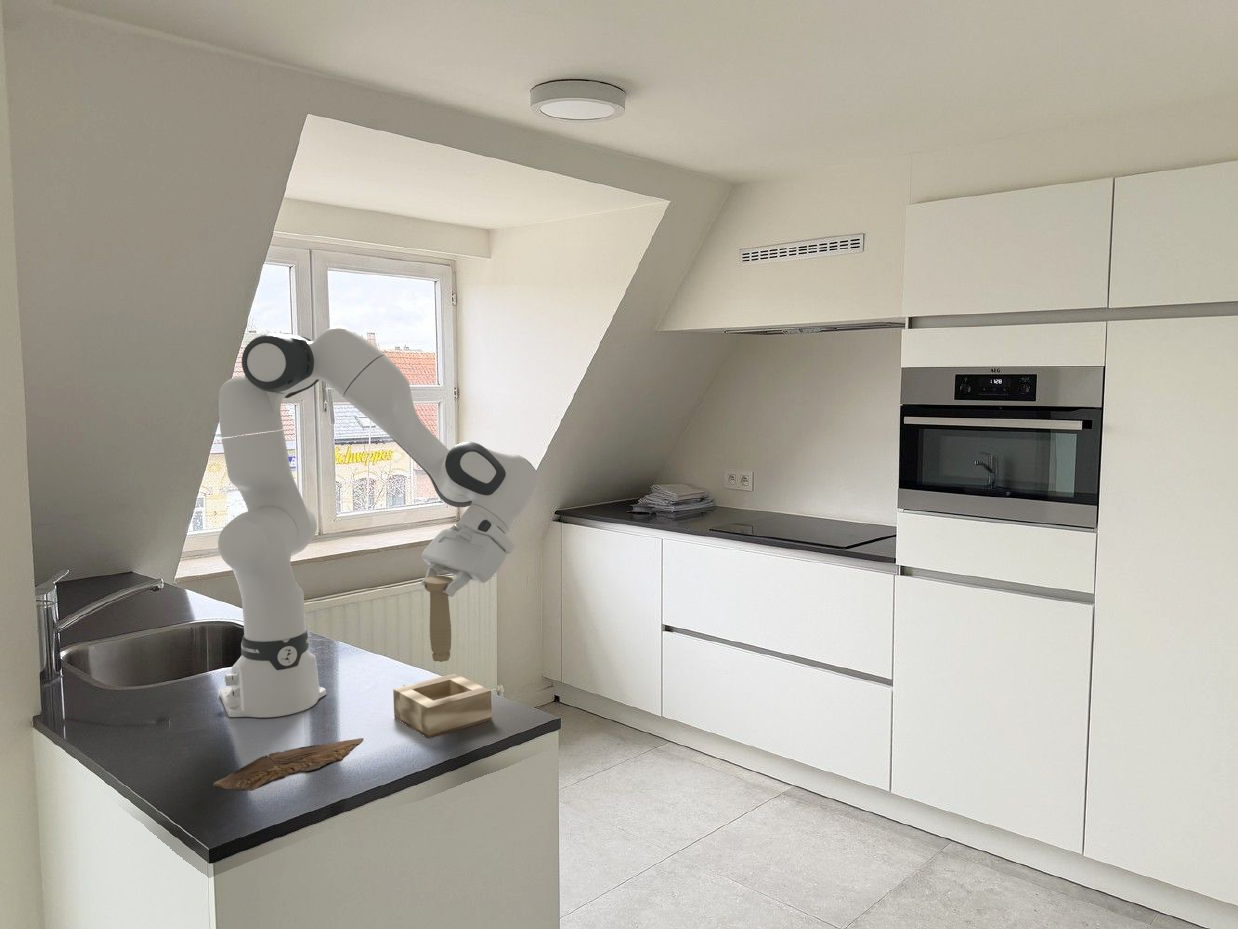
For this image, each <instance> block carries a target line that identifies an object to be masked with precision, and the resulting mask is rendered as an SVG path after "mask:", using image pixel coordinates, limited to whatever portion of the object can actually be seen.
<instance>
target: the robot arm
mask: <svg viewBox="0 0 1238 929" xmlns="http://www.w3.org/2000/svg"><path fill="white" fill-rule="evenodd" d="M241 368H242V372H243V375H237V376H234V377H231V378H230V379H228V380H226V381H225V382H224V383H223V384H222V385H221V387H220V389H219V393H218V421H219V430H220V437H221V442H222V448H223V454H224V455H223V456H224V459H225V465H226V471H227V475H228V476H227V477H228V479H229V481H230V482H231V483H232V484H233V486H235V487H236V488H237V490H238V491H239V492H240V495H241V497H242V499H243V501H244V503H245V506H246V509H247V511H245V512H242V513H241V514H240V513H239V515H236V516H235V517H234V518H233V519H232V520H230V521H229V522H228V523H227V524H226V525H225V526H224V527H223V528H222V530H221V531H220V533H219V536H218V541H217V547H218V551H219V555H220V557H221V559H222V560H223V562H224V563H225V564H226V565H227V566H228V567H230V568H231V569H232V571H233V574H234V577H235V579H236V583H237V586H238V589H239V592H240V596H241V597H240V598H241V602H242V603H241V605H242V618H243V633H244V634H243V635H242V637H241V638H242V640H241V644H240V648H241V650H240V654H241V655H240V657H239V658H238V659H237V661H236V662H235V663H234V664H233V666H232V665H231V672H230V673H226V674H225V675H224V680H225V681H224V682H225V688H222V689H221V690H220V693H219V696H220V699H221V701H222V704H223V707H224V709H225V712H226V714H227V717H229V718H242V717H250V718H275V717H277V718H278V717H284V716H288V715H292V714H296V713H300V712H302V711H305V710H307V709H310V708H311V707H313V706H315V704H317V703H318V701H319V699H321V698H323V697H324V696H326V695H327V690H326V688H325V687H323V686H320V682H319V681H320V680H319V673H318V665H317V663H318V662H317V658H316V655H314V653H311V652H310V651H309V643H310V638H309V637H310V636H309V633H308V630H307V628H306V618H305V597H304V596H305V594H304V591H303V588H302V587H301V586H300V585H298V582H297V580H296V578H295V576H294V572H293V569H292V564H291V558H292V557H293V556H295V555H297V554H300V553H301V552H303V551H304V550H305V549H306V548H307V547H308V545H309V544H310V543H311V542H312V541H313V539H314V537H315V536H316V532H317V528H318V527H317V526H318V525H317V524H318V523H317V519H316V517H315V514H314V513H313V511H312V510H311V509H310V508H309V507H308V506H307V505H306V504H305V502H304V500H303V497H302V495H301V492H300V490H299V488H298V485H297V482H296V481H295V477H294V475H293V472H292V469H291V468H292V467H291V465H290V464H291V463H290V459H289V453H288V449H287V448H288V447H287V443H286V438H285V430H284V424H283V418H282V412H281V411H282V410H281V406H282V402H283V400H284V399H290V398H292V397H294V396H295V395H298V394H300V393H302V392H305V391H306V390H309V389H310V388H312V387H314V386H315V385H316V384H317V383H319V381H322V382H324V383H326V384H327V385H329V386H330V387H332V388H333V389H334V390H335V391H336V392H338V394H340V395H341V396H342V397H343V398H344V399H345V401H347V402H349V404H350V405H352V406H353V407H354V408H355V409H357V410H358V411H359V412H360V413H361V414H363V415H364V416H365V417H367V419H369V420H370V421H372V423H374V424H375V425H376V426H377V427H379V428H380V429H381V430H382V431H383V432H384V433H386V434H387V435H388V436H389V437H390V438H391V439H392V440H393V441H394V442H395V443H396V444H397V445H398V447H400V448H401V449H402V450H403V451H404V452H405V453H406V454H407V455H408V456H409V457H410V458H411V459H412V460H413V461H414V462H415V463H416V464H417V465H418V466H419V467H420V468H421V469H422V470H423V471H424V472H425V474H426V475H427V476H428V477H429V479H430V481H431V484H432V485H433V488H434V490H435V492H436V495H437V496H438V497H439V499H440V500H441V501H443V502H444V503H445V504H447V505H448V506H451V507H455V508H467V509H466V510H465V511H464V512H463V514H462V515H461V517H460V518H459V519H458V521H457V522H456V524H453V525H452V526H451V527H449V528H445V529H442V530H441V531H440V532H439V533H438V534H437V535H436V536H435V537H434V538H433V539H432V540H431V541H430V543H429V544H428V545H427V546H426V547H425V548H424V550H423V551H422V554H421V557H420V558H421V559H422V560H423V561H424V562H425V563H426V564H427V565H428V567H427V570H426V573H425V577H424V578H423V579H422V581H421V582H420V585H421V586H423V587H424V579H425V578H427V577H433V576H440V574H441V573H442V571H443V572H445V573H448V574H452V575H455V576H456V577H454V578H453V581H452V582H451V583H450V584H449V583H447V584H446V586H445V587H444V588H443V593H445V594H446V595H447V596H448V597H450V598H453V597H454V596H455V595H456V594H457V592H458V591H459V590H460V589H461V588H464V587H465V586H466V585H468V583H469V582H470V580H472V581H475V582H479V583H480V584H481V583H482V584H484V583H486V582H488V581H490V580H491V579H492V577H494V575H495V574H496V573H497V572H498V571H499V569H500V567H502V565H503V563H504V562H505V560H506V558H507V555H509V554H511V553H512V552H513V551H514V550H515V548H516V544H515V543H514V542H513V541H512V540H511V539H510V538H509V537H508V536H507V534H508V533H509V532H510V530H511V528H512V525H513V523H514V522H515V520H516V519H518V518H519V517H520V516H521V515H522V514H524V513H523V512H524V511H525V510H526V508H527V507H528V506H529V504H530V502H531V501H532V500H533V498H534V496H535V494H536V493H537V491H538V488H539V484H540V477H539V474H538V472H537V470H536V468H535V467H534V466H533V464H532V463H531V462H530V461H529V460H528V459H526V458H525V457H524V456H521V455H519V454H515V453H514V454H506V453H501V452H497V451H494V450H491V449H489V448H486V447H485V446H483V445H481V444H480V443H477V442H473V441H466V442H460V443H458V444H455V445H454V446H453V447H452V448H450V449H448V448H447V446H446V445H444V443H443V442H442V441H441V440H439V438H437V436H436V435H435V434H434V433H433V432H432V431H431V430H430V429H429V428H428V427H427V426H426V425H425V424H424V423H423V422H422V420H421V418H420V417H419V415H418V413H417V412H416V408H415V405H414V402H413V401H414V400H413V396H412V391H411V386H410V383H409V381H408V379H407V378H406V376H405V375H404V374H403V372H402V371H401V369H400V368H399V367H398V366H397V365H396V364H395V363H394V362H393V360H391V359H390V358H389V357H388V356H387V355H386V354H384V353H383V352H382V351H381V350H380V349H379V348H377V347H376V346H375V345H374V344H372V343H371V342H370V341H369V340H368V339H366V338H365V337H363V336H361V335H360V334H359V333H357V332H356V331H354V330H352V329H350V328H348V327H347V326H344V325H335V326H331V327H329V328H326V330H324V331H322V332H321V333H320V334H318V336H317V337H316V338H314V339H313V340H312V339H309V338H308V337H305V336H301V335H299V334H298V335H297V334H293V333H291V332H290V333H288V332H287V333H286V332H281V333H276V332H273V333H272V332H271V333H264V334H262V335H259V336H257V337H255V338H254V339H251V341H250V342H248V344H247V345H246V347H245V348H244V350H243V352H242V357H241Z"/></svg>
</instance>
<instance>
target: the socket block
mask: <svg viewBox="0 0 1238 929" xmlns="http://www.w3.org/2000/svg"><path fill="white" fill-rule="evenodd" d="M392 691H393V718H394V717H395V718H396V719H398V720H399V721H398V720H397V721H398V722H400V721H401V722H400V723H402V722H403V723H404V725H405V724H406V725H405V726H407V727H408V728H410V729H411V730H413V731H415V730H416V731H415V732H417V733H418V732H419V733H418V734H420V735H421V736H423V735H424V736H423V737H426V738H427V739H428V738H429V739H433V738H435V737H436V736H437V737H440V736H444V735H447V734H450V733H453V732H456V730H457V731H459V730H463V729H466V728H470V727H472V726H476V725H480V724H483V723H486V722H489V721H492V719H493V714H492V711H493V710H492V690H491V689H488V688H486V687H484V686H482V685H480V684H478V683H476V682H474V681H472V680H469V679H467V678H465V677H463V676H462V675H461V676H460V675H458V674H456V673H451V674H447V675H444V676H439V677H436V678H435V677H434V678H430V679H428V680H424V681H419V682H417V683H412V684H411V683H410V684H407V685H403V686H399V687H396V688H393V689H392ZM395 718H394V719H395ZM396 719H395V720H396ZM403 723H402V724H403ZM446 733H447V734H446Z"/></svg>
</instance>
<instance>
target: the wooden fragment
mask: <svg viewBox="0 0 1238 929" xmlns="http://www.w3.org/2000/svg"><path fill="white" fill-rule="evenodd" d="M363 741H364V738H363V737H359V738H355V739H347V740H343V741H342V740H341V741H335V742H330V743H324V744H313V745H307V746H300V747H296V748H292V749H286V750H283V751H277V752H271V753H269V754H268V755H264V756H260V757H258V758H257V759H255V760H254V761H251V762H250V763H248V764H246V765H245V766H243V767H241V768H240V769H237V770H236V771H234V772H232V773H230V774H228V775H226V776H224V777H222V778H220V779H219V780H217V781H215V782H213V784H212V785H213V786H214V787H219V788H221V789H222V788H223V789H226V790H237V791H245V790H246V791H254V790H256V789H257V788H260V786H262V785H265V784H268V783H270V782H272V781H274V780H279V779H283V778H286V777H287V776H289V775H295V774H296V773H306V772H309V771H313V770H317V769H320V768H321V767H324V766H326V765H328V764H330V763H334V762H338V761H340V762H341V761H342V760H343V758H344V757H345V758H346V757H347V756H348V755H349V754H350V751H351V752H352V751H353V749H354V748H355V747H357V746H358V745H360V744H362V743H363ZM359 743H360V744H359ZM345 758H344V759H345Z"/></svg>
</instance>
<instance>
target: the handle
mask: <svg viewBox="0 0 1238 929" xmlns="http://www.w3.org/2000/svg"><path fill="white" fill-rule="evenodd" d="M424 578H425V577H424ZM424 578H423V579H424ZM453 580H454V578H452V577H449V576H445V575H437V576H433V577H427V578H425V579H424V586H423V588H424V589H425V591H427V592H428V593H429V640H430V648H431V652H432V660H433V661H434V662H439V663H441V662H446V661H449V660H450V658H451V649H452V624H451V623H452V622H451V612H450V600H449V596H447V595H446V594H445V593H443V588H444V587H445V586H446V584H447V583H449V584H450V583H451V582H452V581H453Z"/></svg>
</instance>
